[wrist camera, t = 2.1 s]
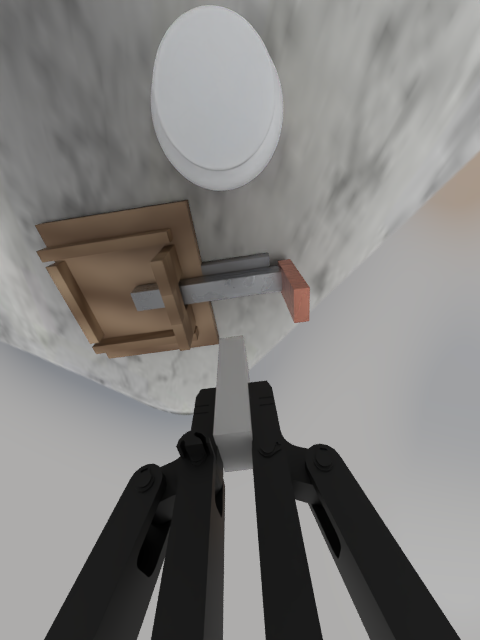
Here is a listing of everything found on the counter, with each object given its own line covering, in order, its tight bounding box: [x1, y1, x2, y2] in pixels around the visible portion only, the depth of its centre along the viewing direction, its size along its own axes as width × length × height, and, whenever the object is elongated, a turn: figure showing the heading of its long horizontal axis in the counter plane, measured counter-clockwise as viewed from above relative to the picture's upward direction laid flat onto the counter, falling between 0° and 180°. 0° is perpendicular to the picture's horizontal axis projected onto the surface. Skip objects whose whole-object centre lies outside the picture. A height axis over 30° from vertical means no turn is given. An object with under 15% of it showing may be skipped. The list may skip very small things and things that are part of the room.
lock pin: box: [130, 259, 310, 323], centre depth 22 cm, size 3×16×7 cm, turn 98°
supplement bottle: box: [151, 5, 283, 191], centre depth 15 cm, size 7×7×13 cm
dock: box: [35, 200, 270, 358], centre depth 24 cm, size 16×21×6 cm
